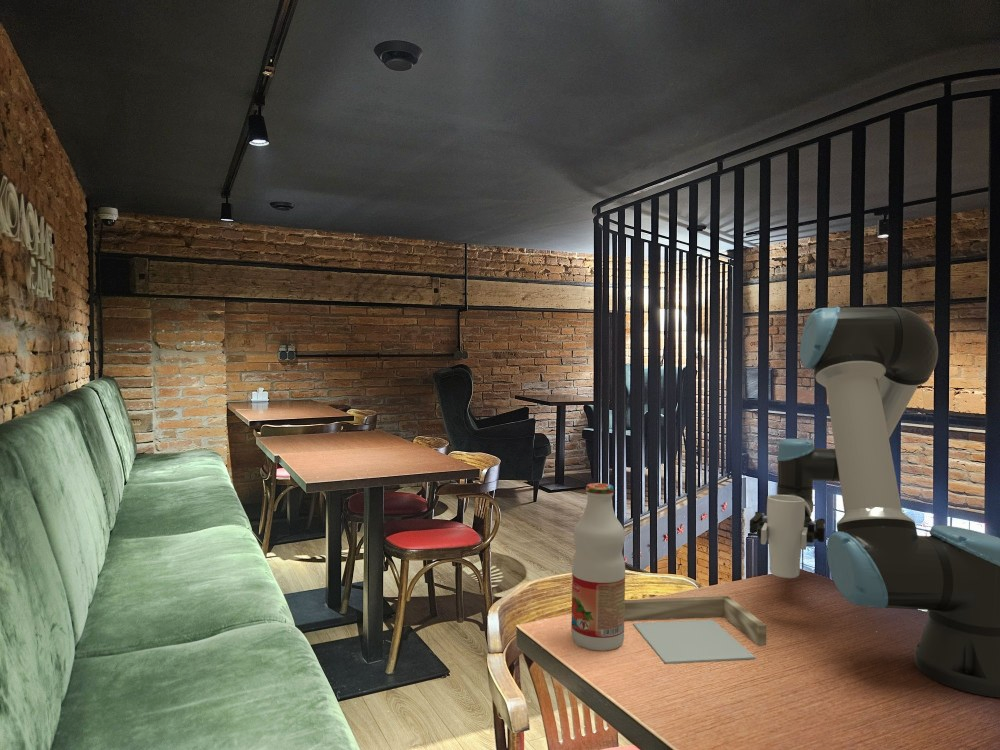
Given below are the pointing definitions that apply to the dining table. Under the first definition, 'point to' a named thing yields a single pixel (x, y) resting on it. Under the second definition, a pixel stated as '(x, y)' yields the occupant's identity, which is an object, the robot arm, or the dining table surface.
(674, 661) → the pad
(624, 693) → the dining table surface
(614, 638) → the fruit juice
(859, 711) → the dining table surface
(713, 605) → the birch walls
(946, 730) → the dining table surface
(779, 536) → the drinking glass
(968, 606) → the robot arm
